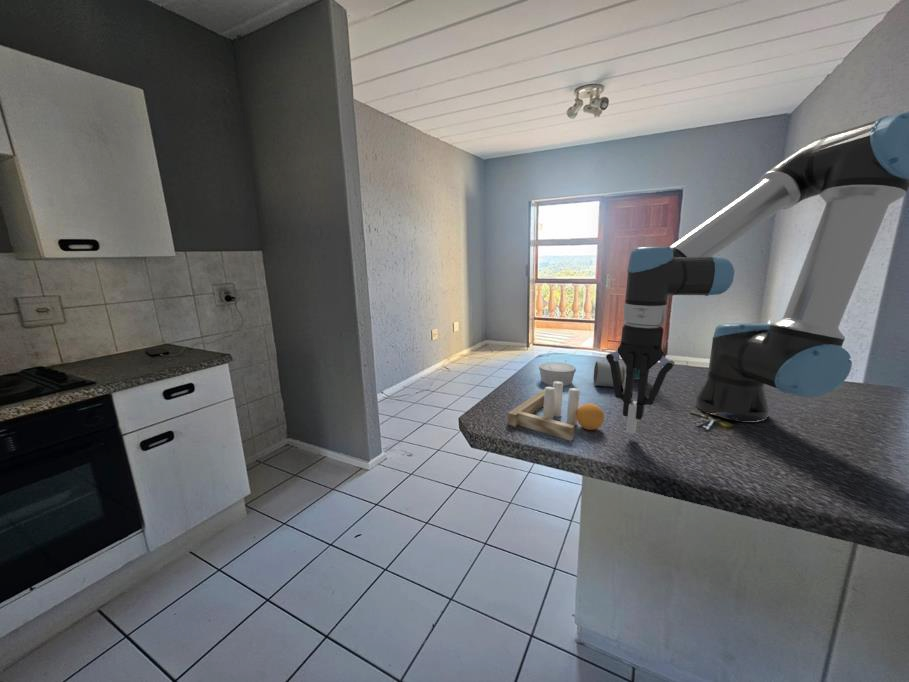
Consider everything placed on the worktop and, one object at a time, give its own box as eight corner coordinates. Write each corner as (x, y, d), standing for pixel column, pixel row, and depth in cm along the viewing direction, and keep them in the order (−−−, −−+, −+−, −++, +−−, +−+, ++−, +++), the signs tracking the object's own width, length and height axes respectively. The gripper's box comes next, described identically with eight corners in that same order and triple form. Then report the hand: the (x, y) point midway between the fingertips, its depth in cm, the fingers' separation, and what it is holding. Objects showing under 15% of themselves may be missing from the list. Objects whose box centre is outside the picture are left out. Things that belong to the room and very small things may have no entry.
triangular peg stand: (597, 412, 94) (598, 401, 94) (568, 443, 79) (569, 430, 78) (542, 399, 103) (543, 389, 102) (507, 424, 88) (507, 412, 87)
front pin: (578, 422, 89) (581, 389, 87) (575, 426, 87) (577, 392, 85) (568, 420, 90) (571, 387, 88) (565, 423, 88) (567, 390, 86)
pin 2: (562, 414, 93) (564, 382, 92) (558, 417, 92) (560, 385, 90) (553, 411, 95) (555, 380, 93) (549, 415, 93) (551, 383, 91)
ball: (578, 402, 89) (584, 426, 89) (570, 409, 84) (577, 434, 84) (602, 398, 86) (610, 423, 85) (596, 405, 81) (603, 432, 81)
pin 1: (554, 421, 90) (556, 388, 88) (550, 424, 88) (552, 390, 86) (545, 418, 91) (547, 386, 89) (541, 421, 89) (543, 388, 87)
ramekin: (531, 379, 121) (532, 364, 120) (558, 375, 125) (559, 360, 124) (553, 390, 111) (554, 373, 110) (582, 385, 115) (583, 369, 114)
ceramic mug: (624, 390, 110) (627, 366, 108) (595, 388, 112) (597, 364, 110) (617, 380, 120) (619, 357, 119) (590, 378, 122) (592, 356, 120)
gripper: (604, 323, 76) (595, 429, 81) (677, 331, 68) (661, 446, 73) (614, 319, 82) (605, 417, 87) (682, 325, 74) (667, 432, 79)
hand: (631, 430), depth 80 cm, fingers closed
